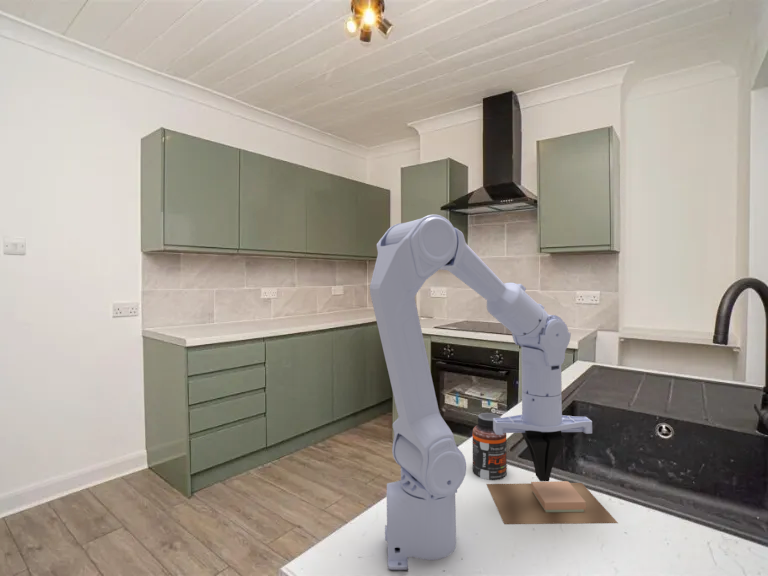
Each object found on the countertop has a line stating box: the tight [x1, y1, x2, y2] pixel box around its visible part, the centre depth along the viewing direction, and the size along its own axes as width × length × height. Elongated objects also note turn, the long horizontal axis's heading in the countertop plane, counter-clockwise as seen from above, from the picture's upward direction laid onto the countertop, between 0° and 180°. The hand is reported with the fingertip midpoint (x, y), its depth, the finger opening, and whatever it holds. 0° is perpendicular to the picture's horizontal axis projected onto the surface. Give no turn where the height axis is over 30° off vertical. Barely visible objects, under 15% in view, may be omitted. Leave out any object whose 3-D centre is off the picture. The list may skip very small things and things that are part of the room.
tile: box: [530, 480, 586, 512], centre depth 63 cm, size 2×6×6 cm
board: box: [486, 482, 619, 525], centre depth 63 cm, size 16×11×1 cm
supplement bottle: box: [472, 412, 508, 481], centre depth 73 cm, size 6×6×11 cm
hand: (542, 478), depth 63 cm, fingers closed
